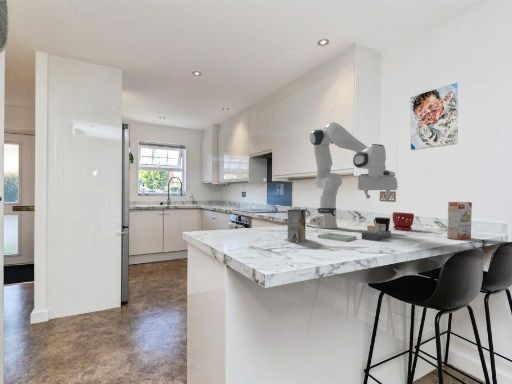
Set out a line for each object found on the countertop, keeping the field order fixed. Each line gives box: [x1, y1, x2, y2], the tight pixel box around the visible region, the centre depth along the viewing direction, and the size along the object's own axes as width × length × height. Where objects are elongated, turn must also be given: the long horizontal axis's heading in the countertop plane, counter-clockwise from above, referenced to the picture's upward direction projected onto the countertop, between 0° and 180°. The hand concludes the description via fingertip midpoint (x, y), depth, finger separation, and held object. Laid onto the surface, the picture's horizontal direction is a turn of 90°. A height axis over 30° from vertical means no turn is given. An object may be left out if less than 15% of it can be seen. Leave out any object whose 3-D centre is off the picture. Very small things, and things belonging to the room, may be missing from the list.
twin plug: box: [374, 223, 386, 232], centre depth 153 cm, size 4×5×7 cm
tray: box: [317, 232, 357, 242], centre depth 147 cm, size 16×12×2 cm
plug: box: [366, 224, 379, 234], centre depth 146 cm, size 4×5×7 cm
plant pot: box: [392, 211, 415, 231], centre depth 191 cm, size 13×13×12 cm
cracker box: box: [446, 201, 473, 241], centre depth 155 cm, size 14×6×21 cm, turn 117°
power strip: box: [361, 230, 392, 242], centre depth 150 cm, size 8×20×4 cm, turn 135°
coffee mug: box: [373, 216, 391, 231], centre depth 171 cm, size 12×9×10 cm
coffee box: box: [287, 208, 307, 243], centre depth 141 cm, size 9×6×16 cm
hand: (376, 198), depth 150 cm, fingers open, 8 cm apart
